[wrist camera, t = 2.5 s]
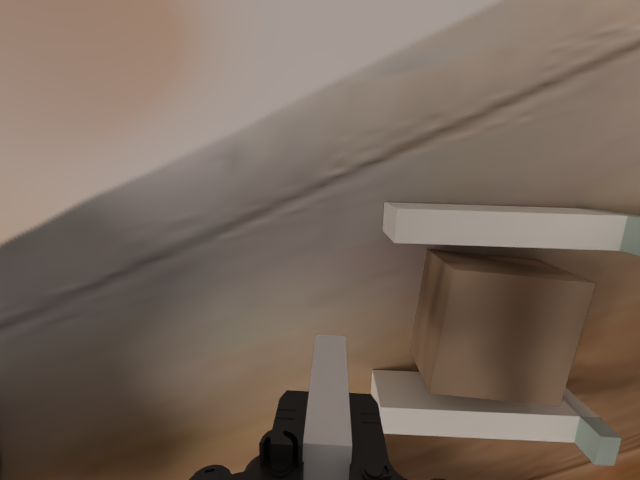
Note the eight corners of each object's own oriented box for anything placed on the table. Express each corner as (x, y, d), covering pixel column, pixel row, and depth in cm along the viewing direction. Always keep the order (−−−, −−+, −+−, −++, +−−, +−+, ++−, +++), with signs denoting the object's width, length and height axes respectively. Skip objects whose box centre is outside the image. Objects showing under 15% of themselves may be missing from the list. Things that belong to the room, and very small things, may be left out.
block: (409, 348, 24) (429, 393, 19) (426, 248, 22) (453, 269, 18) (512, 359, 24) (559, 406, 19) (537, 259, 22) (596, 283, 18)
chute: (370, 392, 25) (382, 454, 19) (384, 202, 22) (403, 212, 16) (550, 400, 24) (614, 465, 19) (590, 208, 21) (681, 220, 16)
